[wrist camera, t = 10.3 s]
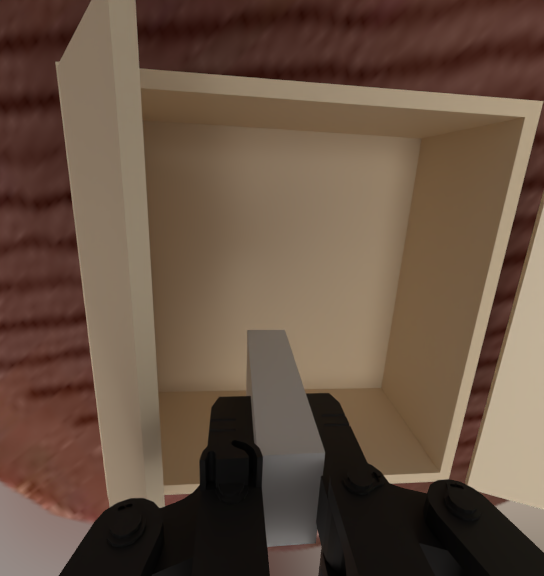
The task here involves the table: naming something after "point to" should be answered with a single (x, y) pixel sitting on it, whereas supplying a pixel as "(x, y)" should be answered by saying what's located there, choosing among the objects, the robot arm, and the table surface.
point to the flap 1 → (114, 241)
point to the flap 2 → (517, 395)
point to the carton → (326, 251)
